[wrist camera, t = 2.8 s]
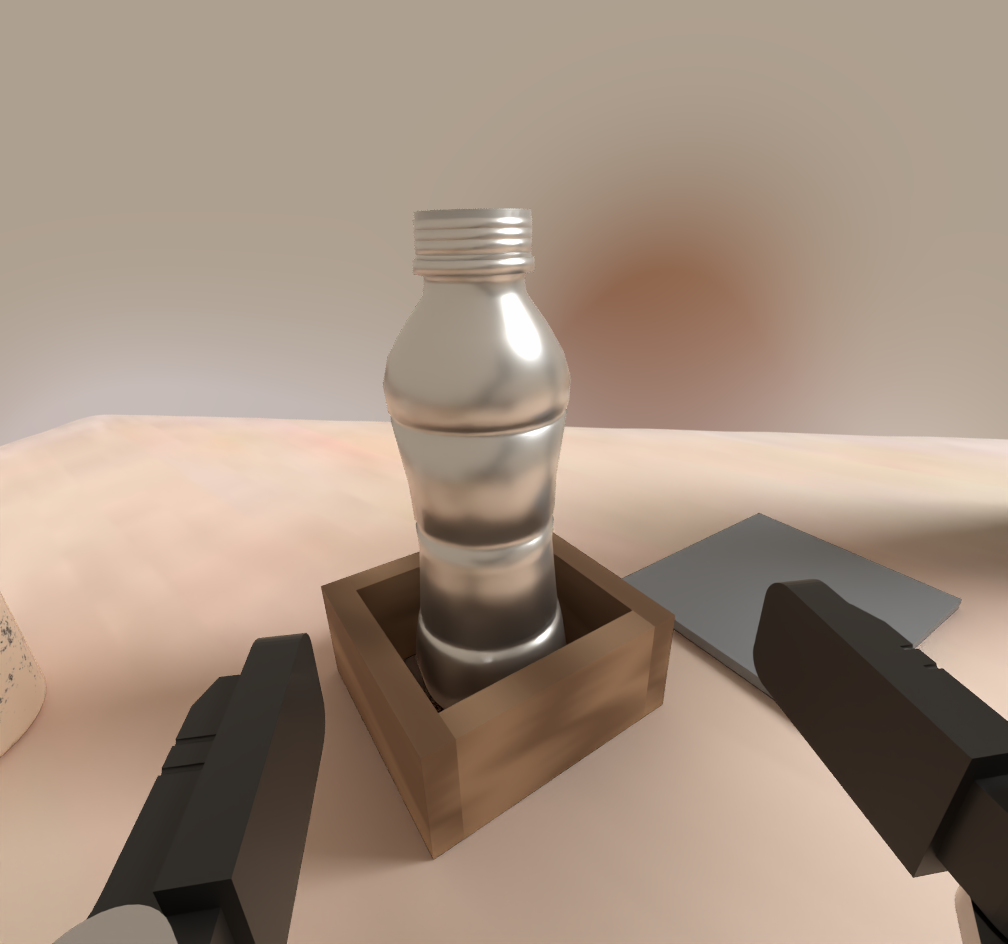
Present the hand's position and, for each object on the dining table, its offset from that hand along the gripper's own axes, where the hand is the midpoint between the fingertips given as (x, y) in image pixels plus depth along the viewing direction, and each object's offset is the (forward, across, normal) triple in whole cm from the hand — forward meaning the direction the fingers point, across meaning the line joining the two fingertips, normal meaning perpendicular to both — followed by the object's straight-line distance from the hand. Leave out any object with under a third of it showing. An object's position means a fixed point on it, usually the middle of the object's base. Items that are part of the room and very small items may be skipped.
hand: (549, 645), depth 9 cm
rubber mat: (+15, -17, +12) cm, 26 cm away
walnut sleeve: (+12, 0, +13) cm, 17 cm away
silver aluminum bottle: (+12, 0, +13) cm, 17 cm away
